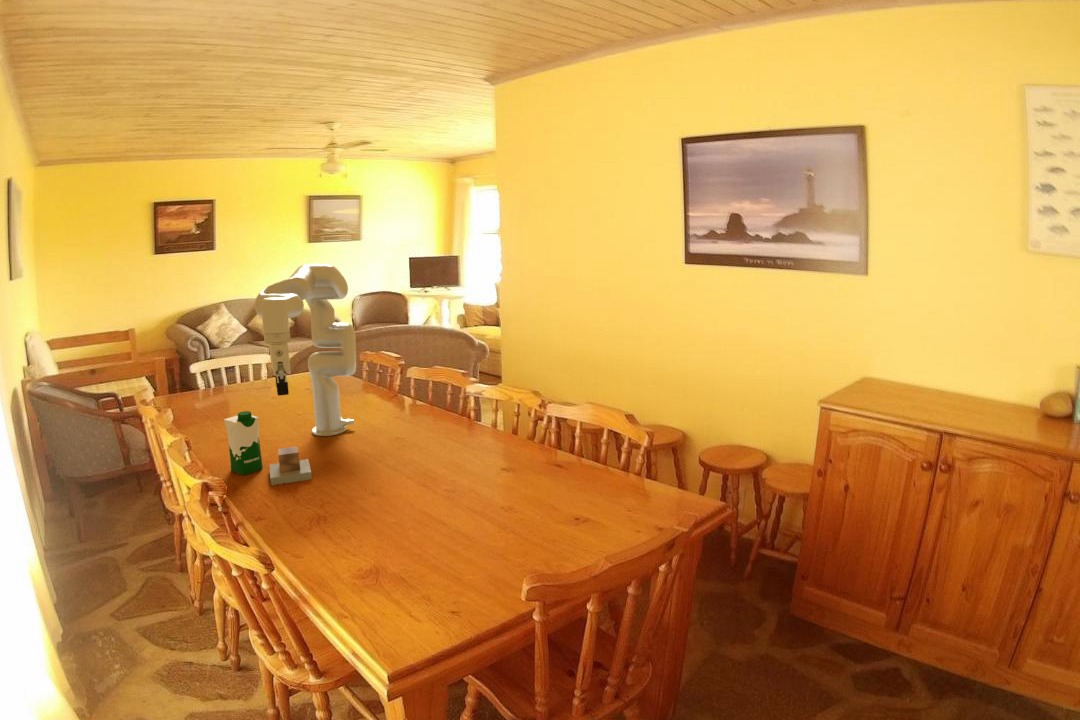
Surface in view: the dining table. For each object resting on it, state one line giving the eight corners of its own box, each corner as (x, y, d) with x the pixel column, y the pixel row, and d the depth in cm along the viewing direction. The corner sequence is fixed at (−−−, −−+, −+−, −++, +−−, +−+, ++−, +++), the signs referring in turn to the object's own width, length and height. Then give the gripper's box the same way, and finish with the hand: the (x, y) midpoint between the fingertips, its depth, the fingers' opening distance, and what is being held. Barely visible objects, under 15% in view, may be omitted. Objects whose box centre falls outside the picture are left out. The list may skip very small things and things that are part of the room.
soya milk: (242, 477, 204) (235, 417, 199) (226, 471, 209) (219, 413, 204) (267, 468, 211) (261, 411, 206) (251, 462, 216) (245, 406, 211)
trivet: (308, 466, 213) (308, 459, 212) (311, 479, 202) (311, 472, 202) (270, 471, 208) (269, 464, 208) (271, 485, 197) (270, 478, 197)
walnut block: (299, 463, 208) (297, 446, 207) (300, 470, 203) (298, 452, 202) (279, 466, 206) (277, 448, 205) (280, 473, 201) (278, 455, 199)
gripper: (291, 341, 189) (296, 396, 193) (288, 331, 205) (293, 383, 209) (264, 343, 186) (270, 399, 190) (263, 333, 202) (268, 385, 206)
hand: (282, 390), depth 199 cm, fingers open, 9 cm apart
